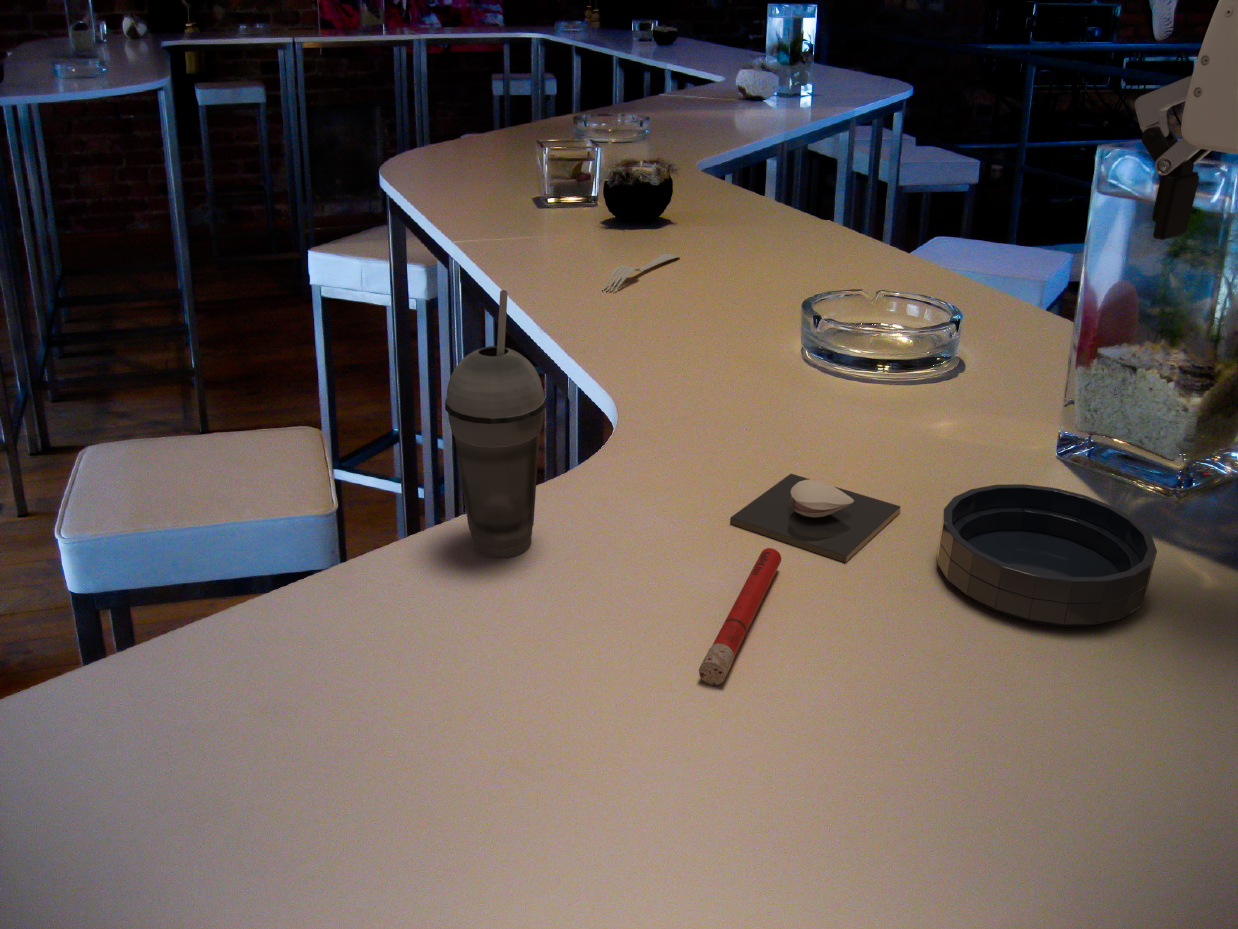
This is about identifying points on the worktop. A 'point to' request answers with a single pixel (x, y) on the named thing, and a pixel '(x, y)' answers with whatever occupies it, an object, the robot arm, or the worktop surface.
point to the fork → (636, 269)
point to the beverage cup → (497, 442)
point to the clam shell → (817, 498)
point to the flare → (739, 618)
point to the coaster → (816, 521)
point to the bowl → (1045, 554)
